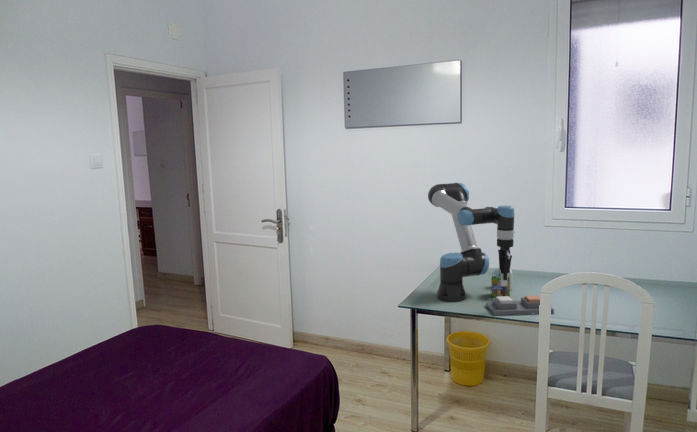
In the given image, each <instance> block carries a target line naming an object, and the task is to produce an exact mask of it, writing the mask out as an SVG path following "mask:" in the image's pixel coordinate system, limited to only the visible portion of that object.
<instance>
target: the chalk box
mask: <svg viewBox="0 0 697 432" xmlns="http://www.w3.org/2000/svg"><path fill="white" fill-rule="evenodd" d="M490 278H491V298H492V299H495V298H496V297H502V296H509V297H510V298H511V294H510V291H511V290H510V274H508V280H507V286H501V273H500V269H499V274H496V273H494V272H492V274H491V277H490Z"/></svg>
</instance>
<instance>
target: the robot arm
mask: <svg viewBox="0 0 697 432" xmlns="http://www.w3.org/2000/svg"><path fill="white" fill-rule="evenodd" d="M427 198H428V199H427V200H428V202H429V203H430V204H431V205H432V206H434V207H436V208H441V209H443V210H444V211H445V212H447V213H448V214H449V215H450V214H451V216H452V221H453V224H454V229H455V231H456V236H457V238H458V242H459V245H460V249H461V251H460V252H448V253H445V254H443V255H442V256H441V257H440V260H439V275H440V276H439V277H440V280H439V281H440V282H439V287H438V290H437V293H436V298H437V299H439V300H441V301H444V302H452V303H453V302H462V301H464V300H466V299H467V293H466V290H465V287H464V284H463V283H464V281H463V278H466V277H474V276H477V277H478V276H482V275H485V274H486V273H487V272H488V270H489V268H490V258H489V255H488V254H487V253H485V252H482V248H481V247H480V246H478V244H477V241H476V238H475V233H474V230H473V228H472V226H473V225H475V226H476V225H485V224H495V225H496V230H497V231H496V246H497V247H499V249H498V250H497V252H498V267H499V269H500V270H501V286H507V280H508V273H510V269H511V265H512V264H511V263H512V258H513V255H512V254H511V249H510V248H513V247H514V241H515V240H514V236H515V235H514V234H515V230H514V229H515V207H514V206H512V205H499V206H497V208H496V207H493V206H485V207H484V208H473V209H472V207H471V208H470V207H469V206H467V205H468V201H469V200H470V191H469V189H468V187H467V185H466V184H464V183H462V182H453V183H452V182H451V183H449V182H448V183H438V184H435V185H433V186H432V187H431V188H430V189H429V191H428V193H427Z"/></svg>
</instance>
